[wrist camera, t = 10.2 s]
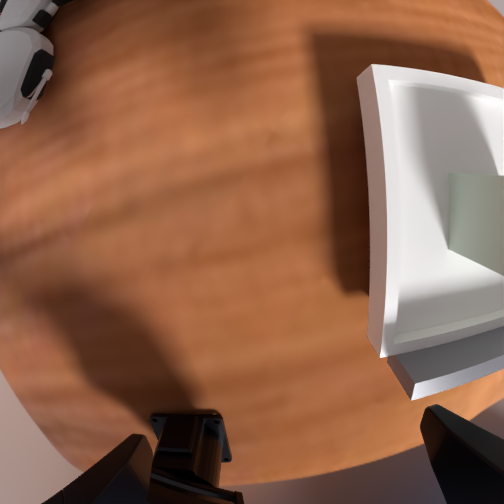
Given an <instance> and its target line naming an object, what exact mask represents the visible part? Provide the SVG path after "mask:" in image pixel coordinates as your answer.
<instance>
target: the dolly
mask: <svg viewBox="0 0 504 504" xmlns="http://www.w3.org/2000/svg"><path fill="white" fill-rule="evenodd" d="M356 79H357V85H358V92H359V99H360V106H361V114H362V122H363V131H364V140H365V151H366V162H367V176H368V192H369V216H370V289H369V312H368V329H367V338H368V339H369V341H370V343H371V344H372V346H373V347H374V349H375V351H376V352H377V354H378V355H379V357H380V358H382V357H387V356H388V361H387V363H388V364H389V366H390V367H391V369H392V370H393V372H394V374H395V375H396V377H397V378H398V380H399V382H400V383H401V385H402V386H403V388H404V390H405V391H406V393H407V395H408V396H409V398H410V399H411V400H415V399H418V398H422V397H425V396H429V395H432V394H435V393H439V392H442V391H445V390H448V389H451V388H454V387H457V386H460V385H463V384H466V383H468V382H471V381H474V380H476V379H479V378H482V377H484V376H487V375H489V374H492V373H494V372H497V371H499V370H501V369H504V276H502V275H500V274H498V273H496V272H494V271H492V270H490V269H488V268H486V267H484V266H482V265H480V264H478V263H476V262H474V261H472V260H470V259H468V258H466V257H464V256H461V255H459V254H457V253H455V252H453V251H451V250H448V245H449V217H450V194H449V173H471V174H489V175H503V176H504V89H503V88H500V87H497V86H493V85H490V84H486V83H482V82H478V81H474V80H470V79H466V78H462V77H457V76H452V75H447V74H442V73H437V72H431V71H425V70H419V69H412V68H405V67H397V66H388V65H377V64H371V65H370V66H369V67H368V68H366V69H365V70H364V71H363V72H362V73H361V74H360V75H359V76H358V77H357V78H356Z"/></svg>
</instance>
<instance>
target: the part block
mask: <svg viewBox="0 0 504 504" xmlns="http://www.w3.org/2000/svg"><path fill="white" fill-rule="evenodd" d="M449 194H450V217H449V245H448V250H451V251H453V252H455V253H457V254H459V255H461V256H464V257H466V258H468V259H470V260H472V261H474V262H476V263H478V264H480V265H482V266H484V267H486V268H488V269H490V270H492V271H494V272H496V273H498V274H500V275H502V276H504V176H503V175H489V174H471V173H449Z"/></svg>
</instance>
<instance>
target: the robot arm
mask: <svg viewBox="0 0 504 504" xmlns="http://www.w3.org/2000/svg"><path fill="white" fill-rule="evenodd" d="M154 418H155V419H154ZM149 419H150V422H151V425H152V427H153V429H154V432H155V434H156V436H157V439H158V443H157V446H156V449H155V452H154V455H153V452H152V449H151V447H150V444H149V442H148V440H147V438H146V436H145V435H143V434H131V435H130V436H129V437H128V438H126V439H125V440H124V441H123V442H122V443H120V444H119V445H118V446H117V447H115V448H114V449H113V450H112V451H111V452H109V453H108V454H107V455H106V456H104V457H103V458H102V459H101V460H99V461H98V462H97V463H96V464H94V465H93V466H92V467H91V468H89V469H88V470H87V471H85V472H84V473H83V474H82V475H81V476H79V477H78V478H77V479H75V480H74V481H72V482H71V483H70V484H69V485H67V486H66V487H65V488H63V490H60V491H59V492H58V493H56V494H55V495H54V496H52V497H51V498H49V499H48V500H46V501H45V502H43V503H42V504H244V501H243V496H242V493H241V492H237V491H235V492H233V491H229V490H224V489H221V488H218V487H219V479H220V470H221V462H231V460H232V455H231V451H230V447H229V443H228V438H227V434H226V430H225V425H224V421H223V418H222V417H221V416H219V415H175V414H151V416H150V418H149ZM216 420H218V421H216ZM420 430H421V433H422V436H423V440H424V443H425V446H426V450H427V453H428V457H429V460H430V463H431V466H432V469H433V471H434V473H435V476H436V478H437V481H438V483H439V485H440V488H441V490H442V493H443V495H444V498H445V500H446V503H447V504H504V439H502V438H501V437H499V436H497V435H495V434H493V433H491V432H489V431H487V430H485V429H483V428H481V427H479V426H477V425H475V424H474V423H472V422H470V421H468V420H466V419H464V418H462V417H460V416H459V415H457V414H455V413H453V412H451V411H449V410H447V409H446V408H444V407H442V406H440V405H438V404H435V405H432V406H429V407H427V408H426V409H425V411H424V414H423V417H422V420H421V424H420Z"/></svg>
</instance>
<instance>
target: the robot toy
mask: <svg viewBox="0 0 504 504" xmlns="http://www.w3.org/2000/svg"><path fill="white" fill-rule="evenodd" d="M71 1H73V0H1V2H0V12H1V16H0V129H1V128H5V127H8V126H11V125H14V124H16V123H17V122H19V121H20V120H21V125H22V124H23V123H25V122H26V121H27V119H28V117H29V115H30V114H29V113H30V111H31V110H32V109H33V108H34V106H35V105H36V104H37V103H38V100H39V98H40V97H41V96H42V94H43V91H44V88H45V86H46V83H47V80H49V79H50V77H51V75H52V74H53V73H52V72H51V70H52V67H53V64H54V56H53V45H52V43H51V42H50V41H49V39H47V38H46V37H44V36H43V35H42V34H40V32H42V31H43V30H44V29H45V28H46V27H47V25H48V24H49V23H50V22H51V21H52V20H53V16H54V15H55V13H56V12H57V10H58V9H59V7H60V6H62V5H64V4H66V3H69V2H71Z"/></svg>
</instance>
